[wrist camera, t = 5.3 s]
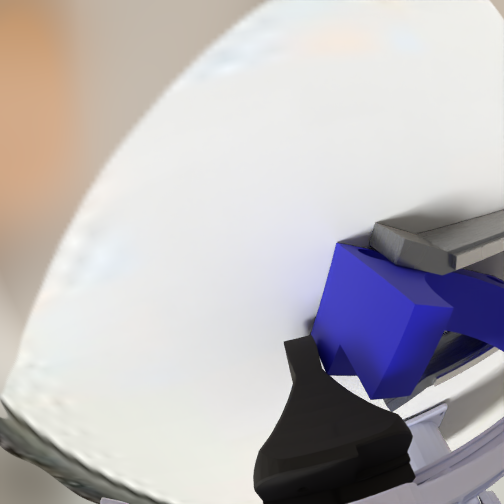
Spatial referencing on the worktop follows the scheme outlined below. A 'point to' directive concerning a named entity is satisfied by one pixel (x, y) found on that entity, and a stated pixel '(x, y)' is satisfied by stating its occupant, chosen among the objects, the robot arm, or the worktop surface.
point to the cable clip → (398, 318)
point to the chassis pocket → (443, 262)
